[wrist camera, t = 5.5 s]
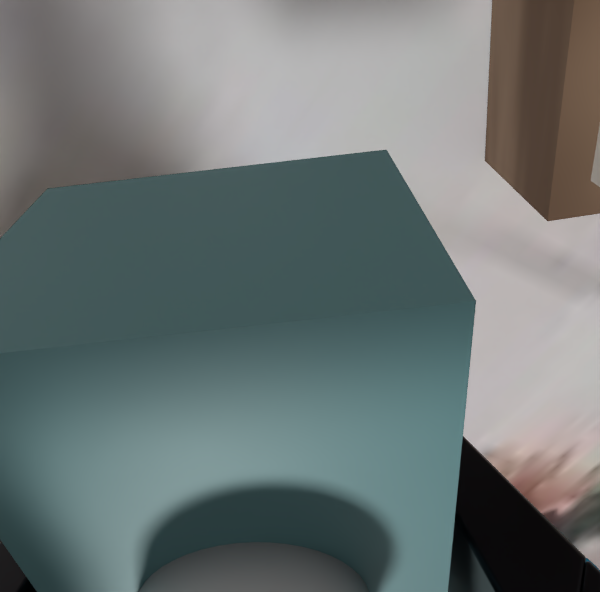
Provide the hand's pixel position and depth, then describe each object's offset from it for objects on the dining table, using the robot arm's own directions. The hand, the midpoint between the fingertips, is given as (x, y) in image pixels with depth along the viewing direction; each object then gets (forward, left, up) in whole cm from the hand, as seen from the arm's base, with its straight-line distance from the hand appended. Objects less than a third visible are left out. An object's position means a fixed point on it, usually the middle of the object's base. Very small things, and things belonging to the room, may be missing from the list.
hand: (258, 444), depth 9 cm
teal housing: (0, 0, -1) cm, 1 cm away
